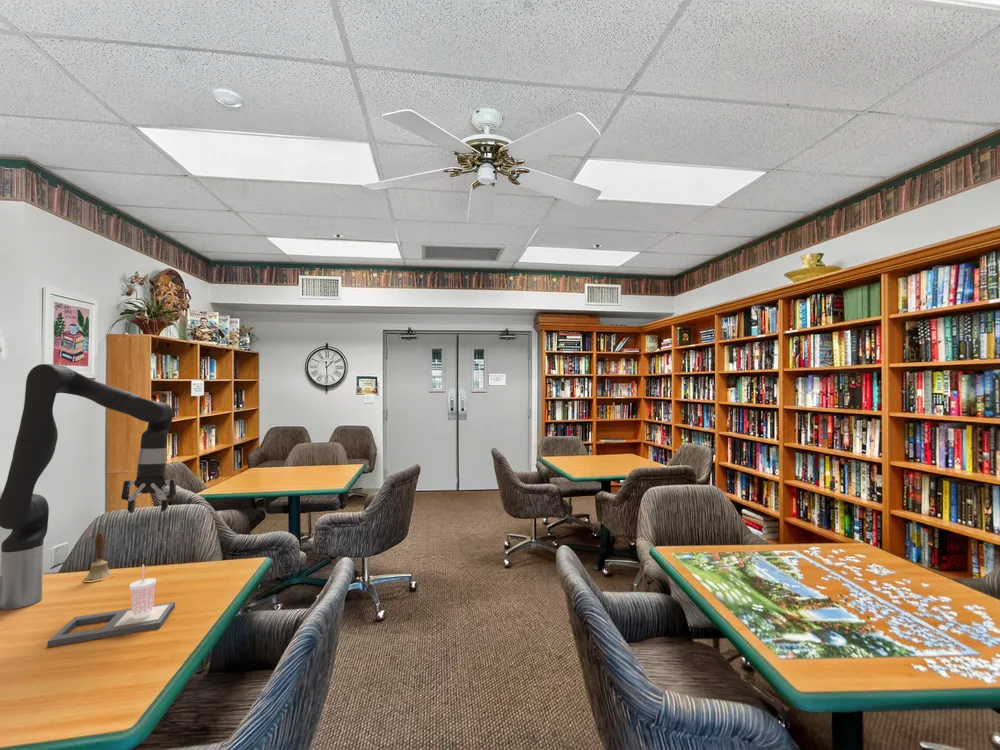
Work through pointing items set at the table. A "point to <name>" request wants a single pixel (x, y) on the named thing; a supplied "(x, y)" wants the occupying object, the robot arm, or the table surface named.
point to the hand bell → (98, 562)
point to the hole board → (112, 624)
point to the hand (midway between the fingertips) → (147, 512)
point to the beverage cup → (142, 596)
